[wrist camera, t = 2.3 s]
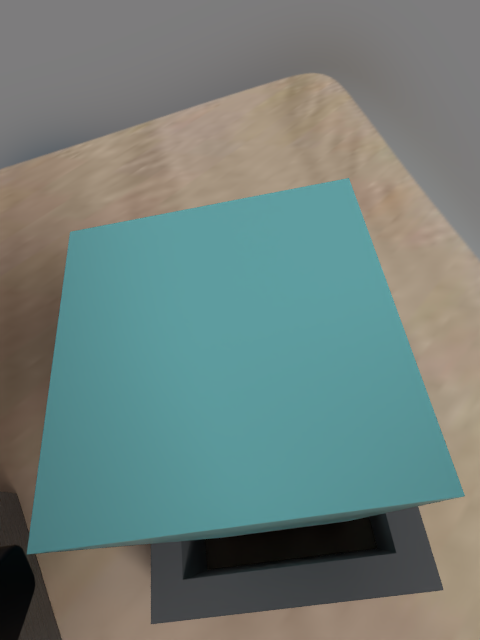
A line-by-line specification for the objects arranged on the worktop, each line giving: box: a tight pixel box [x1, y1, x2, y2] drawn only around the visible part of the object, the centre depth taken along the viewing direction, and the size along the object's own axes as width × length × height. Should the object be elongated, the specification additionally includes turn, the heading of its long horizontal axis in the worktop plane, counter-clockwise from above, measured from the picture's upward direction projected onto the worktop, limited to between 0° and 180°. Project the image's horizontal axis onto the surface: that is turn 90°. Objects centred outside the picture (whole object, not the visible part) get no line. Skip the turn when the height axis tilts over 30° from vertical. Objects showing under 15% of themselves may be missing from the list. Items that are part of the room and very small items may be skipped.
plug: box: [27, 178, 465, 554], centre depth 11 cm, size 4×4×13 cm
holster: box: [151, 506, 443, 624], centre depth 15 cm, size 8×8×4 cm
